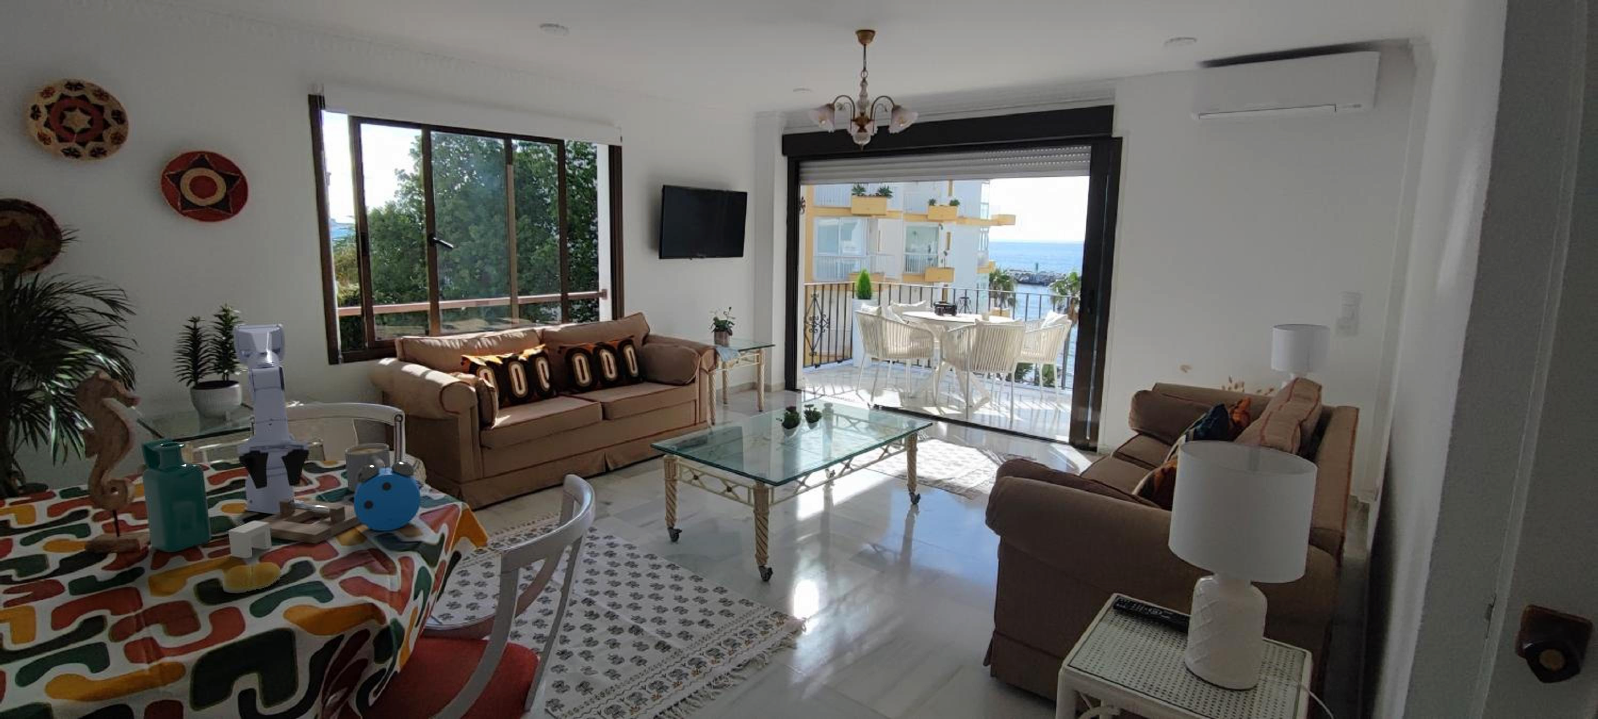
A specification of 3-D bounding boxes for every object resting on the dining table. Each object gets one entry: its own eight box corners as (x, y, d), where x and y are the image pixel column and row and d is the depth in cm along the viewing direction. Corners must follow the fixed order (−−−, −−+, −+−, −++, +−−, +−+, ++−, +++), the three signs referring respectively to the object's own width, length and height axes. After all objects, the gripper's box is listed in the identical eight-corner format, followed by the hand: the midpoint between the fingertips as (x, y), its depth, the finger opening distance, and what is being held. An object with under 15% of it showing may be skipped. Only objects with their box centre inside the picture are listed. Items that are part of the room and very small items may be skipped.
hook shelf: (249, 533, 168) (246, 511, 167) (311, 508, 183) (309, 488, 182) (315, 543, 163) (313, 521, 162) (374, 516, 179) (372, 496, 178)
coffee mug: (344, 484, 200) (341, 447, 198) (386, 476, 206) (384, 441, 204) (355, 498, 190) (351, 459, 188) (398, 490, 196) (396, 452, 194)
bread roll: (281, 586, 145) (279, 567, 144) (222, 598, 140) (220, 578, 139) (282, 570, 151) (280, 551, 151) (225, 580, 147) (223, 561, 146)
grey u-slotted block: (231, 555, 157) (228, 530, 156) (256, 545, 162) (254, 520, 161) (246, 558, 156) (243, 532, 155) (271, 547, 161) (269, 522, 160)
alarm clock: (421, 517, 179) (417, 456, 176) (422, 527, 173) (418, 463, 171) (356, 527, 172) (351, 463, 170) (356, 537, 167) (350, 471, 164)
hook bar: (284, 508, 174) (284, 502, 173) (290, 506, 175) (289, 500, 175) (335, 515, 170) (334, 509, 170) (340, 513, 172) (339, 507, 171)
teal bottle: (215, 539, 164) (204, 441, 160) (170, 554, 156) (156, 451, 153) (189, 531, 168) (177, 434, 164) (143, 545, 161) (130, 444, 157)
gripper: (253, 418, 154) (260, 485, 152) (316, 419, 168) (323, 480, 166) (226, 426, 156) (233, 492, 154) (290, 426, 170) (298, 486, 168)
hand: (278, 486), depth 160 cm, fingers open, 7 cm apart
